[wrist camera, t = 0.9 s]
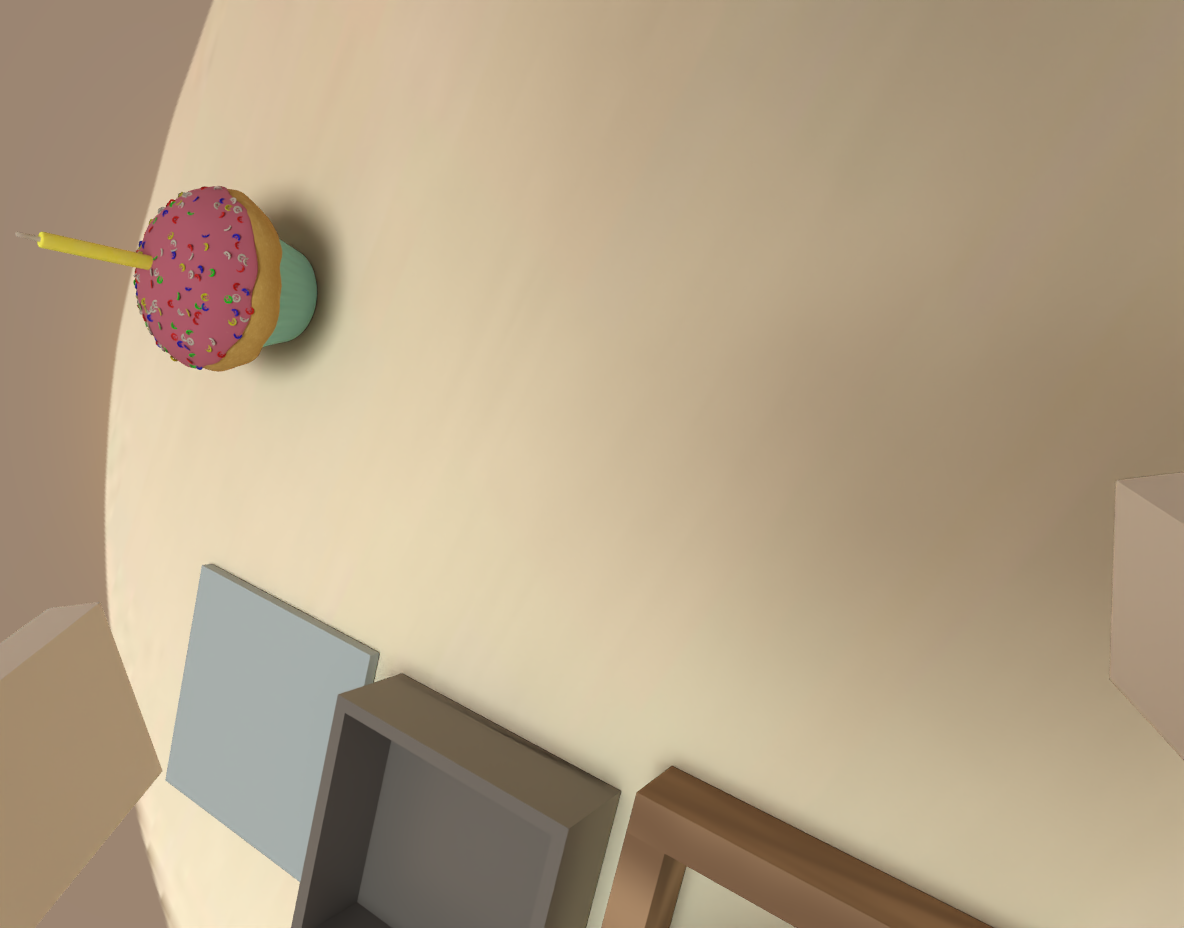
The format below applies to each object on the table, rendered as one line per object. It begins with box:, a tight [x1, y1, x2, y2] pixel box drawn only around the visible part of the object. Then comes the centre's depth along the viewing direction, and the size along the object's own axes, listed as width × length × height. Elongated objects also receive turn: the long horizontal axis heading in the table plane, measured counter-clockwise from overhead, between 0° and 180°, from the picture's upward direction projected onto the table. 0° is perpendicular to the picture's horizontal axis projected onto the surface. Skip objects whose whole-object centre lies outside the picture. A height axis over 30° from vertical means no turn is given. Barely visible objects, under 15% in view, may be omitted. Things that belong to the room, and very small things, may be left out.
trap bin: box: [291, 674, 621, 928], centre depth 37 cm, size 12×12×4 cm
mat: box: [166, 564, 379, 882], centre depth 45 cm, size 13×13×1 cm
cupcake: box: [15, 186, 317, 371], centre depth 39 cm, size 9×8×12 cm
